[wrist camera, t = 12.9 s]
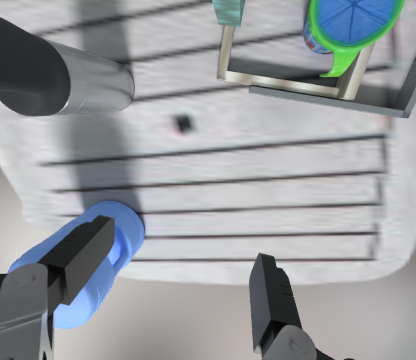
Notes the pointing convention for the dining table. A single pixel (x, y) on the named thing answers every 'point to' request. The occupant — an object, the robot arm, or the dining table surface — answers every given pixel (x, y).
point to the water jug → (104, 275)
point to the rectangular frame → (409, 95)
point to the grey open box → (345, 88)
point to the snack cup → (347, 27)
